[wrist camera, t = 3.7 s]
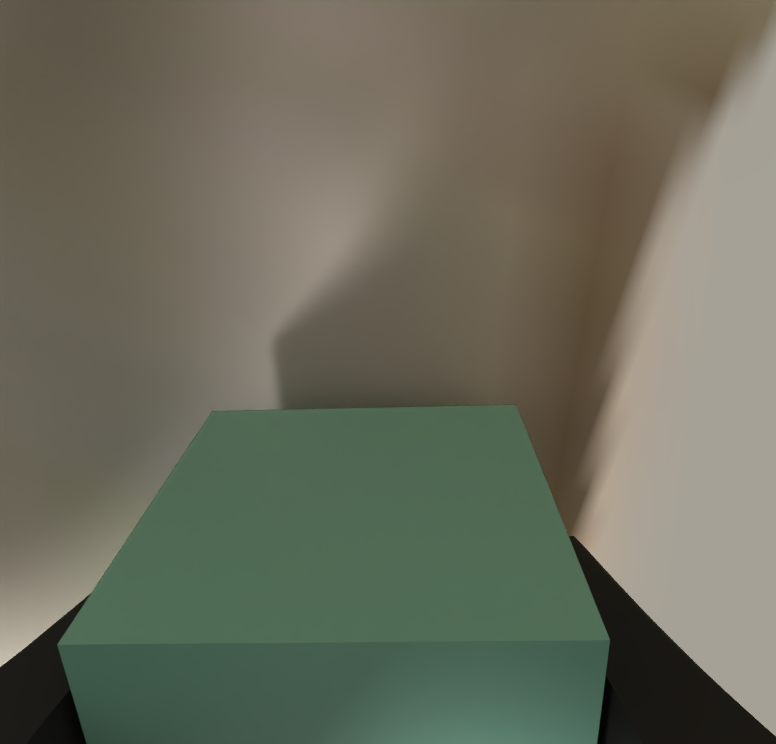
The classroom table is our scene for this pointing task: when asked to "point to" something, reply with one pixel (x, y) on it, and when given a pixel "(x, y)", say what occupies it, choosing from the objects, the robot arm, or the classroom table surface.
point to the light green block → (345, 591)
